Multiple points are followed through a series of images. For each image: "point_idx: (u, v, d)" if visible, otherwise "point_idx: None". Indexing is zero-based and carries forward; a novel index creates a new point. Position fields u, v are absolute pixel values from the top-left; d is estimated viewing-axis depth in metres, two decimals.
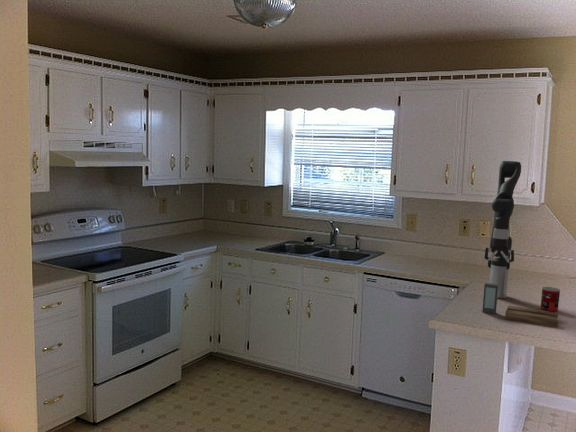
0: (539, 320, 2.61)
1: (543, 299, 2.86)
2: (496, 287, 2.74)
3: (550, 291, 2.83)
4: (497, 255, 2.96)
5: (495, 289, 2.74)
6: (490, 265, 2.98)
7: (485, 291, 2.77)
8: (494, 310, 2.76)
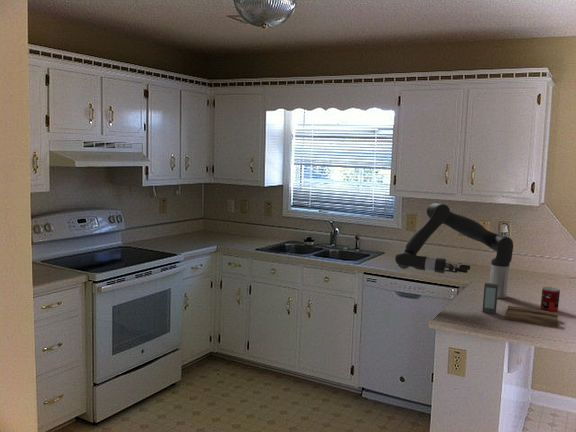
0: (539, 320, 2.61)
1: (543, 299, 2.86)
2: (496, 287, 2.74)
3: (550, 291, 2.83)
4: None
5: (495, 289, 2.74)
6: (467, 269, 2.85)
7: (485, 291, 2.77)
8: (494, 310, 2.76)
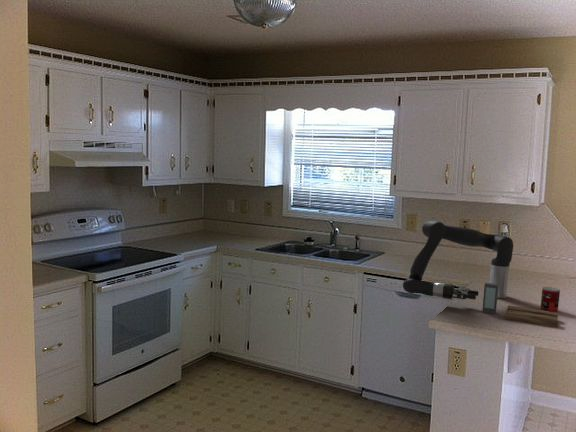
0: (539, 320, 2.61)
1: (543, 299, 2.86)
2: (496, 287, 2.74)
3: (550, 291, 2.83)
4: None
5: (495, 289, 2.74)
6: (475, 295, 2.84)
7: (485, 291, 2.77)
8: (494, 310, 2.76)
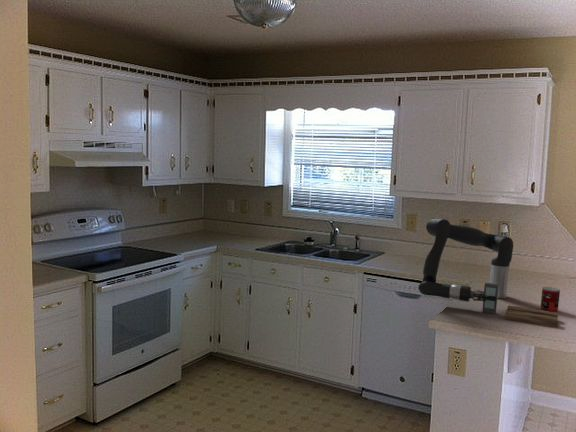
0: (539, 320, 2.61)
1: (543, 299, 2.86)
2: (496, 287, 2.74)
3: (550, 291, 2.83)
4: None
5: (495, 289, 2.74)
6: None
7: (485, 291, 2.76)
8: (494, 310, 2.76)
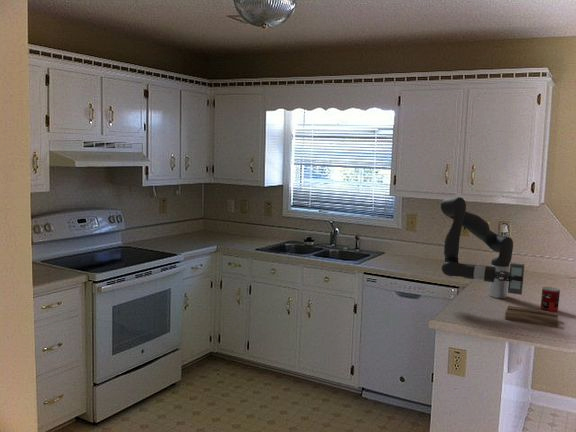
0: (539, 320, 2.61)
1: (543, 299, 2.86)
2: (522, 267, 2.68)
3: (550, 291, 2.83)
4: None
5: (521, 269, 2.68)
6: None
7: (511, 271, 2.70)
8: (520, 291, 2.69)
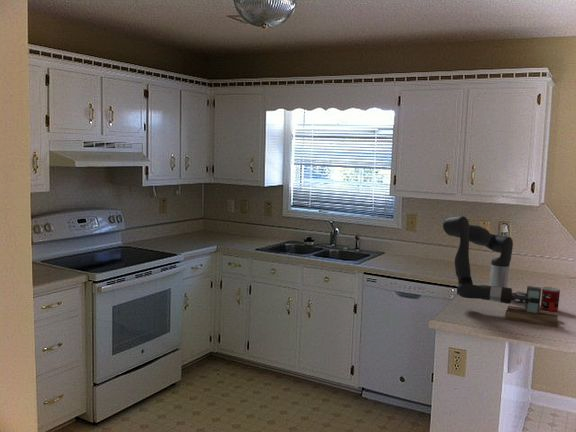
0: (539, 320, 2.61)
1: (543, 299, 2.86)
2: (539, 290, 2.65)
3: (550, 291, 2.83)
4: None
5: (538, 292, 2.65)
6: None
7: (528, 294, 2.67)
8: None
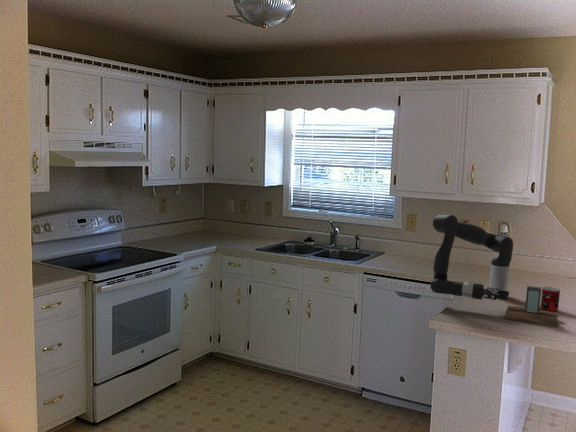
0: (539, 320, 2.61)
1: (543, 299, 2.86)
2: (539, 290, 2.65)
3: (550, 291, 2.83)
4: None
5: (538, 292, 2.65)
6: (505, 295, 2.76)
7: (528, 294, 2.67)
8: None
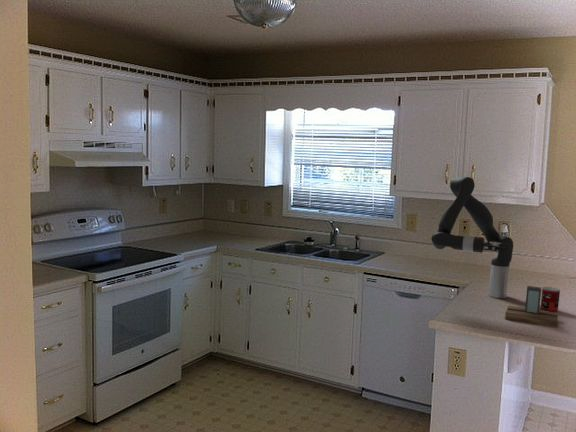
0: (539, 320, 2.61)
1: (543, 299, 2.86)
2: (539, 290, 2.65)
3: (550, 291, 2.83)
4: None
5: (538, 292, 2.65)
6: None
7: (528, 294, 2.67)
8: None
